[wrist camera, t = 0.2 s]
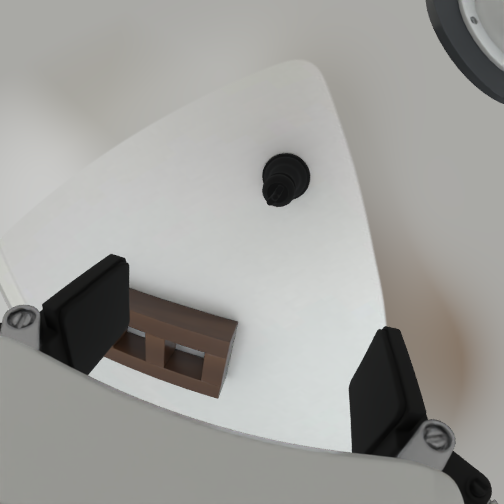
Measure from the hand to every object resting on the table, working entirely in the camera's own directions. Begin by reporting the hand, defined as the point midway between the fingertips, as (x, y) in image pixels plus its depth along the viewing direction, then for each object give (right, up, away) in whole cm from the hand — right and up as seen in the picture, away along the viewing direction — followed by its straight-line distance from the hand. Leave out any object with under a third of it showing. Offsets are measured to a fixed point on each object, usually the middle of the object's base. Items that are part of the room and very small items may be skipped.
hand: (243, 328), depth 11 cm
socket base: (-11, -8, +27) cm, 30 cm away
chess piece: (+3, +10, +18) cm, 21 cm away
